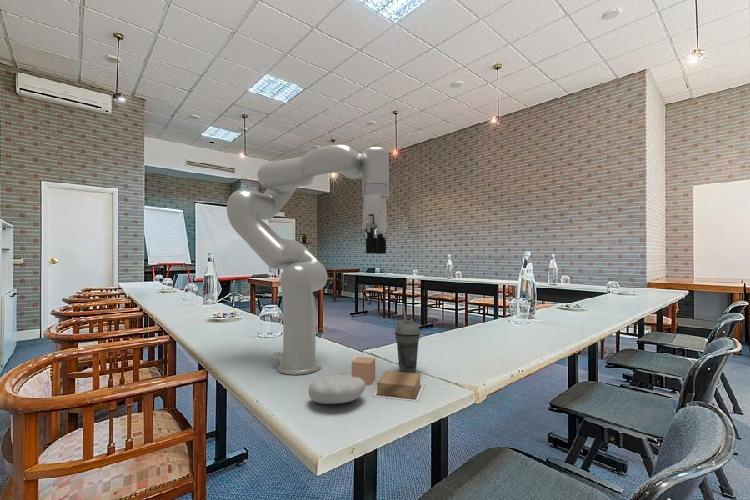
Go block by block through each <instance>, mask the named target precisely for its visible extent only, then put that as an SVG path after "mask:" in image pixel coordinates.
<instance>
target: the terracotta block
mask: <svg viewBox="0 0 750 500" xmlns="http://www.w3.org/2000/svg"><path fill="white" fill-rule="evenodd" d="M351 376H352V377H359V378H360V379H362V380H363V381H364V382H365V386H366V385H367V386H371V385H372V384H373V383H374V382H375V380H376V357H367V356H366V357H365V356H357V357H356V358H354V360H352V361H351Z"/></svg>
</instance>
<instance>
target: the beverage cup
mask: <svg viewBox="0 0 750 500" xmlns="http://www.w3.org/2000/svg"><path fill="white" fill-rule="evenodd" d="M402 309H403V310H402V312H403V319H401V320H400V321H399V322H398V323H397V324H396V327H395V330H394V334H395V341H396V345H397V346H396V347H397V359H398V369H399V372H405V373H416V370H417V362H418V350H419V341H420V335H421V331H420V327H419V325H418V323H417V322H416V321H415V320H413V319H411V318H407V316H406V314H407V313H406V307H405V303H402Z"/></svg>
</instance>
